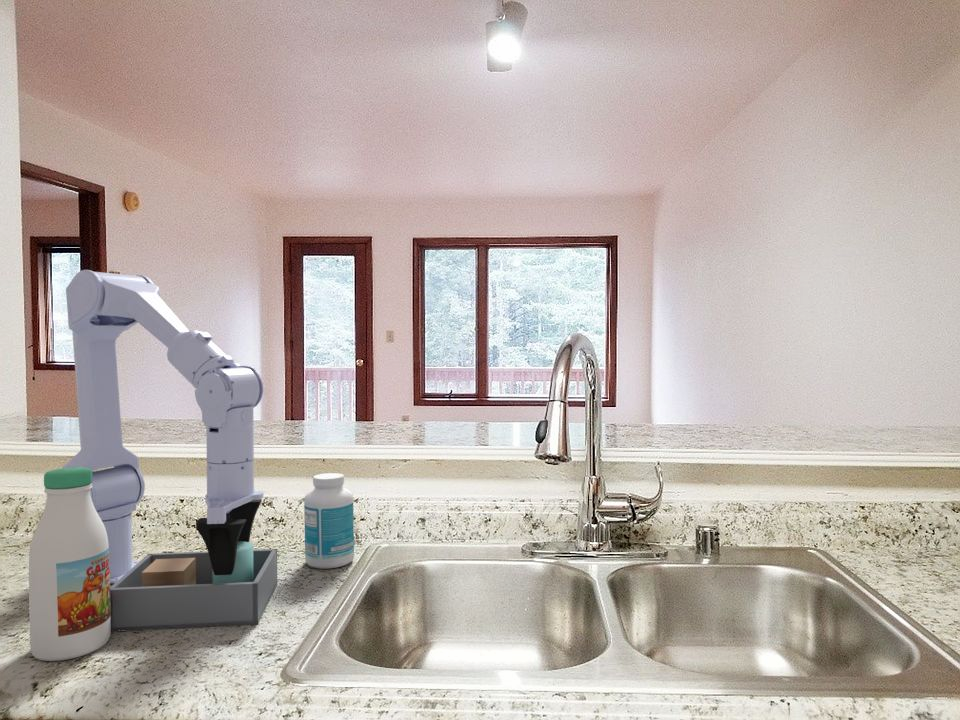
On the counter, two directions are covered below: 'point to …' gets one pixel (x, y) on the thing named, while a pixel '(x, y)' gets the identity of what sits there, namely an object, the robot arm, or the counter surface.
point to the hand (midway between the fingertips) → (231, 563)
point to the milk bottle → (69, 571)
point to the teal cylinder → (239, 566)
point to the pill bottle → (329, 523)
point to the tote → (192, 596)
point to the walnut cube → (170, 572)
